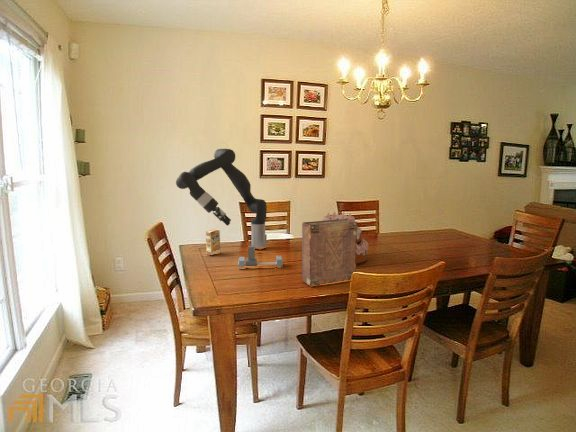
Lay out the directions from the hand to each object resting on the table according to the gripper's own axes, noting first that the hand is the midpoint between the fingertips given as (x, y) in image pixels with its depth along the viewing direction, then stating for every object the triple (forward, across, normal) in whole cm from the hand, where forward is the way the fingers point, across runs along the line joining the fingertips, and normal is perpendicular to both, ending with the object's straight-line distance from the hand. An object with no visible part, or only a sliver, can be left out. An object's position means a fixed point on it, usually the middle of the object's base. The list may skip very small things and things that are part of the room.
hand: (229, 223), depth 201 cm
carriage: (+25, 0, +9) cm, 27 cm away
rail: (+30, 0, +6) cm, 30 cm away
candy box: (+10, +30, +26) cm, 41 cm away
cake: (+63, +12, -28) cm, 70 cm away
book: (+53, -27, -17) cm, 62 cm away
